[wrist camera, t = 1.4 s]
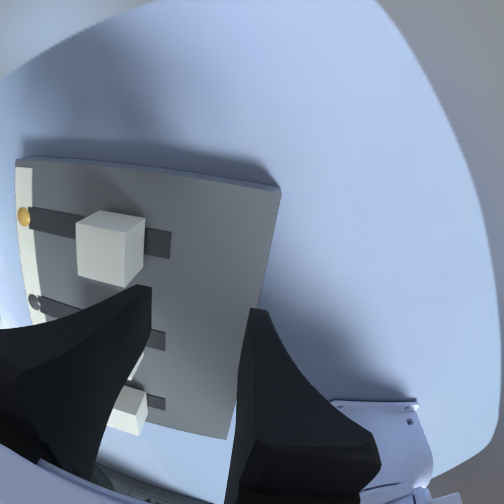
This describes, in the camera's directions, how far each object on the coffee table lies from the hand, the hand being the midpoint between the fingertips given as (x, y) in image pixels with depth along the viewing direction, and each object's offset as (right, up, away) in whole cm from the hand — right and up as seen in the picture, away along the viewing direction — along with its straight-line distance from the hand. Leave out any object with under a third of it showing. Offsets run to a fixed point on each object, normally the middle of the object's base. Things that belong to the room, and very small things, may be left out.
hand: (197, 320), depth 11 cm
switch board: (-7, -2, +10) cm, 13 cm away
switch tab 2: (-8, -10, +11) cm, 16 cm away
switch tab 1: (-6, +3, +5) cm, 8 cm away
